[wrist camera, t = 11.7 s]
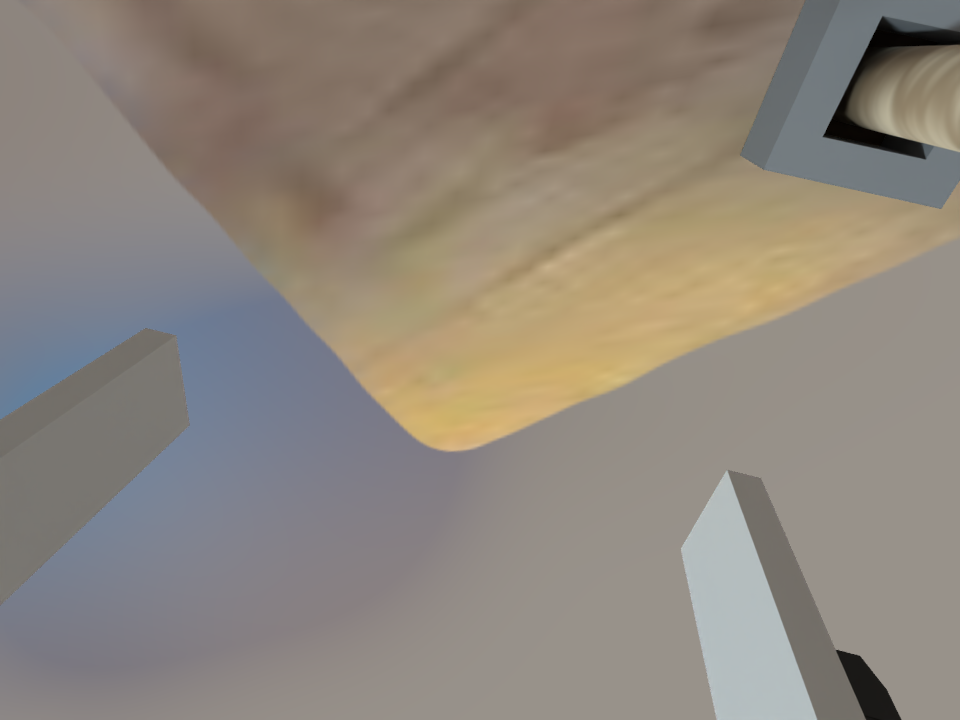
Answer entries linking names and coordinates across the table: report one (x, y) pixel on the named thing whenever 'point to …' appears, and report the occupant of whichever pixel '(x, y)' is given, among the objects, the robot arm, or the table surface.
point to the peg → (906, 94)
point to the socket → (820, 87)
